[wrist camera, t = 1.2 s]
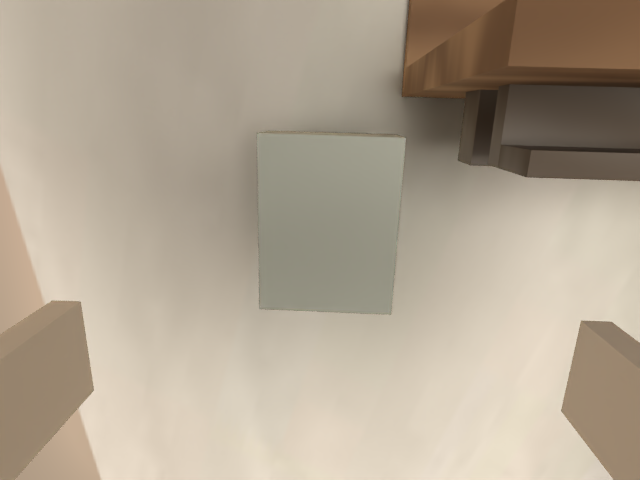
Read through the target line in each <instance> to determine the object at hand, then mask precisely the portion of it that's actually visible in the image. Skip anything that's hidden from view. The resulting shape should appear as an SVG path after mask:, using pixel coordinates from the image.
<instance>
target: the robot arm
mask: <svg viewBox="0 0 640 480" xmlns="http://www.w3.org/2000/svg"><path fill="white" fill-rule="evenodd" d="M93 391H94V387H93V381H92V374H91V367H90V361H89V354H88V347H87V341H86V334H85V327H84V321H83V314H82V307H81V302H78V301H51V302H49V303H48V304H46V305H45V306H43V307H42V308H40V309H39V310H37V311H36V312H34V313H32V314H31V315H29V316H28V317H26V318H25V319H23V320H22V321H20V322H19V323H17V324H16V325H14V326H12V327H11V328H9V329H8V330H6V331H5V332H3V333H2V334H0V480H15V479H16V478H17V477H18V475H19V474H20V473H21V472H22V471H23V470H24V469H25V468H26V466H27V465H28V464H29V463H30V462H31V461H32V459H34V457H35V456H36V455H37V454H38V453H39V452H40V451H41V450H42V448H43V447H44V446H45V445H46V444H47V443H48V442H49V441H50V439H51V438H52V437H53V436H54V435H55V434H56V433H57V431H58V430H59V429H60V428H61V427H62V426H63V425H64V423H65V422H66V421H67V420H68V419H69V418H70V417H71V415H72V414H73V413H74V412H75V411H76V410H77V409H78V408H79V407H80V405H81V404H82V403H83V402H84V401H85V400H86V399H87V398H88V396H89V395H90V394H91V393H92V392H93ZM561 411H562V413H563V414H564V415H565V417H566V418H567V419H568V421H569V422H570V423H571V424H572V426H573V427H574V428H575V430H576V431H577V432H578V434H579V435H580V436H581V438H582V439H583V440H584V441H585V443H586V444H587V445H588V447H589V448H590V449H591V451H592V452H593V453H594V454H595V456H596V457H597V458H598V460H599V461H600V462H601V464H602V465H603V466H604V468H605V469H606V470H607V471H608V473H609V474H610V475H611V477H612V478H613V479H614V480H640V343H639V342H638V341H636V340H635V339H634V338H632V337H631V336H630V335H628V334H627V333H626V332H624V331H623V330H622V329H620V328H619V327H618V326H616V325H615V324H614V323H612V322H602V321H581V324H580V328H579V333H578V337H577V342H576V346H575V351H574V355H573V360H572V364H571V369H570V373H569V378H568V382H567V387H566V391H565V396H564V400H563V405H562V409H561Z"/></svg>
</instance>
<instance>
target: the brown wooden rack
mask: <svg viewBox="0 0 640 480" xmlns="http://www.w3.org/2000/svg"><path fill="white" fill-rule="evenodd" d="M402 97H432V98H465V105H464V113H463V122H462V130H461V138H460V147H459V155H458V161H461V162H463V163H466V164H469V165H478V166H494V167H497V168H500V169H503V170H506V171H509V172H512V173H515V174H518V175H521V176H525V177H536V178H566V179H597V180H628V181H640V0H409V11H408V24H407V37H406V49H405V62H404V75H403V87H402Z"/></svg>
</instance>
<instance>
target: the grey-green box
mask: <svg viewBox="0 0 640 480" xmlns="http://www.w3.org/2000/svg"><path fill="white" fill-rule="evenodd" d="M405 144H406V138H405V137H402V136H399V135H396V134H363V133H330V132H296V131H265V132H260V133H257V179H258V246H259V309H270V310H294V311H317V312H341V313H365V314H389V315H391V311H392V299H393V287H394V275H395V263H396V251H397V239H398V227H399V215H400V203H401V191H402V179H403V167H404V155H405Z"/></svg>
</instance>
